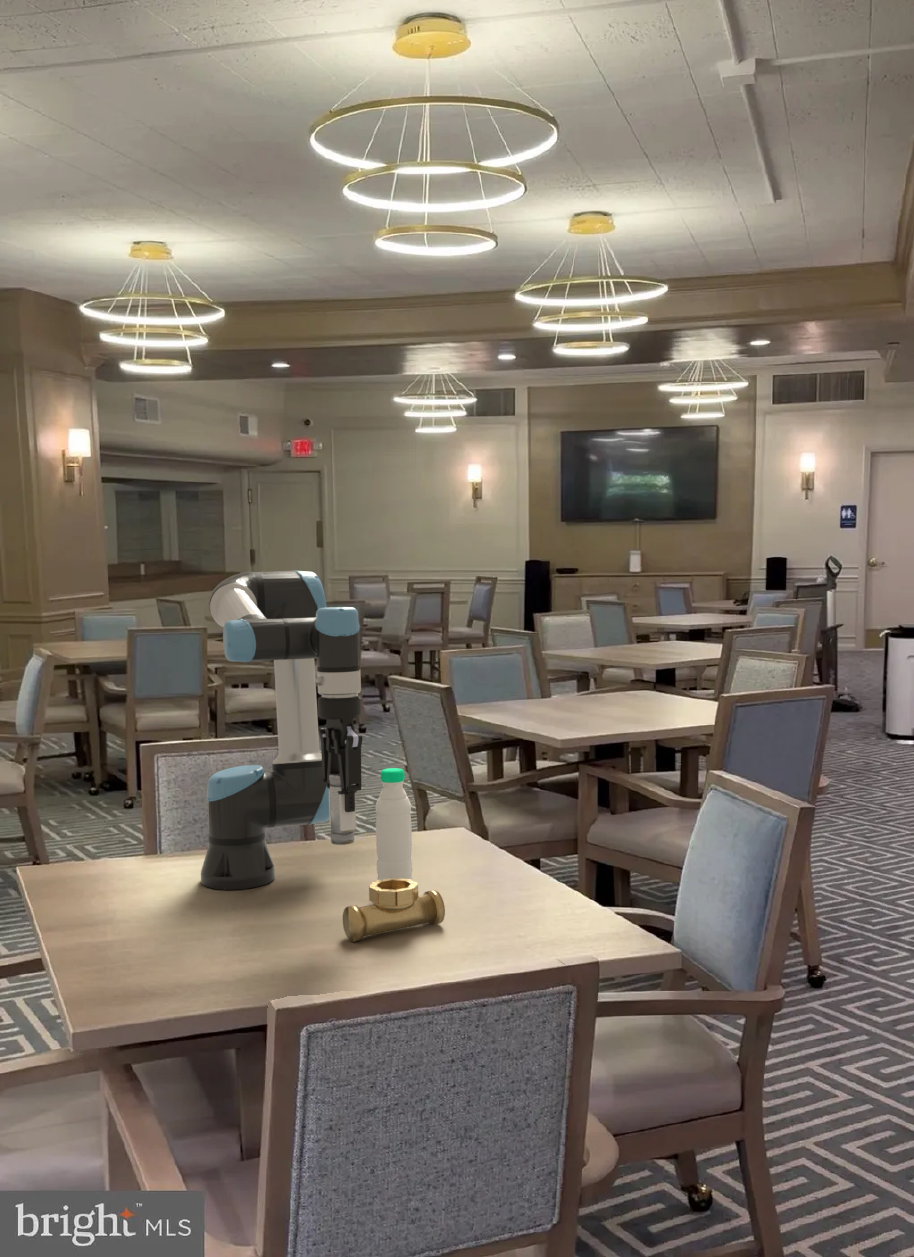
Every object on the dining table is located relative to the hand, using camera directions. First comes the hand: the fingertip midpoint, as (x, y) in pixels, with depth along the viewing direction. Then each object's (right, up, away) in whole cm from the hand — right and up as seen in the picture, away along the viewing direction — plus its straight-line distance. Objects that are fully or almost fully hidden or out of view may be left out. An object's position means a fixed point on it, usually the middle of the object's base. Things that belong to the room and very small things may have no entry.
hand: (342, 827), depth 200 cm
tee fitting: (+9, -19, +2) cm, 21 cm away
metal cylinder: (0, -3, 0) cm, 3 cm away
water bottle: (+8, -18, +24) cm, 31 cm away
